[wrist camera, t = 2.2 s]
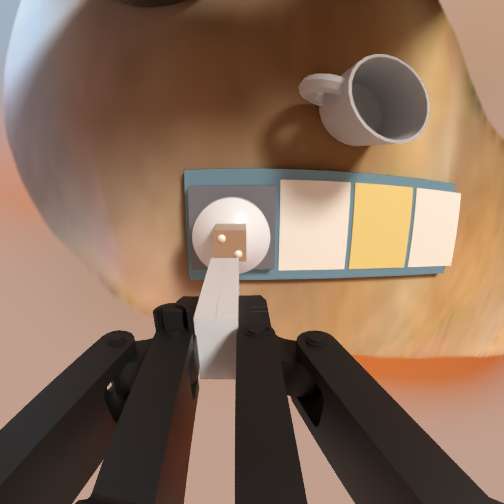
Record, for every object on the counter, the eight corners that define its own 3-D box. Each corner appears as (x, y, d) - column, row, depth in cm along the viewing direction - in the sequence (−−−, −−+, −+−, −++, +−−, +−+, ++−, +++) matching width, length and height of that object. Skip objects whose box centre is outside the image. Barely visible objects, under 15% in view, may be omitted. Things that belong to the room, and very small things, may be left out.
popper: (194, 196, 25) (184, 204, 21) (268, 196, 25) (274, 203, 21) (197, 266, 27) (189, 286, 23) (267, 266, 27) (272, 286, 23)
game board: (185, 169, 28) (182, 170, 26) (456, 184, 29) (466, 186, 27) (190, 276, 31) (187, 283, 29) (445, 270, 32) (453, 275, 30)
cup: (376, 155, 28) (423, 156, 19) (283, 129, 27) (302, 116, 18) (386, 93, 26) (433, 75, 17) (296, 64, 25) (318, 29, 16)
